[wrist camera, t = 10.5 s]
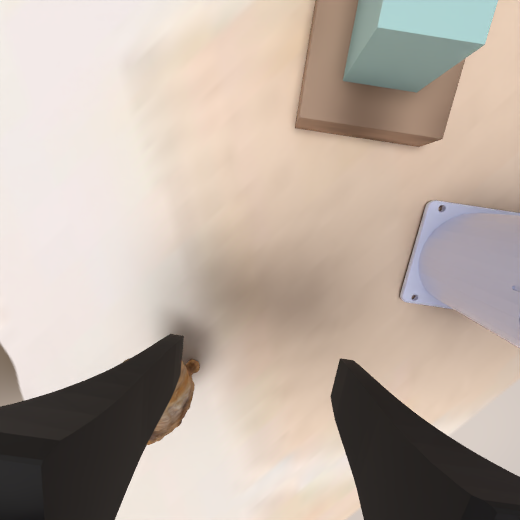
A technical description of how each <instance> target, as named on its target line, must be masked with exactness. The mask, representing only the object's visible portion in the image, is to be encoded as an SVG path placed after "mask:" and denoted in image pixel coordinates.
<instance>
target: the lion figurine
mask: <svg viewBox="0 0 520 520" xmlns="http://www.w3.org/2000/svg"><path fill="white" fill-rule="evenodd" d="M127 360H129V359H127ZM127 360H125V361H127ZM125 361H124V362H125ZM199 368H200V365H199V362H198V361H196V360H194V359H191V360H190V361H188V362H187V364H185V365H184V363H183V361H182V362H181V374H180V377H179V380H178V383H177V385H176V388H175V391H174V393H173V396H172V398H171V400H170V402H169V403H168V405H167V407H166V409H165V411H164V413H163V415H162V417H161V419H160V420H159V422H158V424H157V426H156V428H155V430H154V432H153V434H152V436H151V437H150V439H149V441H148V443H147V445H150V444H152V443H155V442H156V441H160V440H161V439H162V438H163V437H164V436H165V435H167V434H169V433H171V432H172V431H173V430H174V428H175V427H178V426H179V425H180V424H181V422H182V419H183V418H184V416H185V414H186V412H187V410H188V409H189V408H190V403H191V401H192V397H193V391H194V382H193V381H192V374H193V373H196V372H198V371H199Z"/></svg>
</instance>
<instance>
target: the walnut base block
mask: <svg viewBox="0 0 520 520" xmlns="http://www.w3.org/2000/svg"><path fill="white" fill-rule="evenodd" d="M358 1H359V0H316V1H315V7H314V13H313V19H312V26H311V32H310V38H309V44H308V50H307V56H306V63H305V69H304V75H303V81H302V87H301V94H300V100H299V106H298V112H297V118H296V124H295V128H299V129H306V130H313V131H319V132H326V133H332V134H339V135H346V136H352V137H359V138H365V139H372V140H379V141H385V142H392V143H398V144H405V145H412V146H418V147H420V146H423V145H426V144H429V143H432V142H435V141H438V140H441V139H442V138H443V135H444V131H445V128H446V124H447V121H448V117H449V114H450V110H451V107H452V103H453V100H454V96H455V93H456V90H457V86H458V83H459V79H460V76H461V72H462V69H463V65H464V62H465V59H463V60H462V61H461V62H459V63H458V64H456V65H455V66H454V67H452V68H451V69H449V70H448V71H446V72H445V73H444V74H442V75H441V76H439V77H438V78H437V79H435V80H434V81H432V82H431V83H429V84H428V85H427V86H425V87H424V88H422V89H421V90H420V91H418V92H417V93H416V92H410V91H404V90H397V89H391V88H385V87H378V86H372V85H366V84H359V83H353V82H347V81H343V77H344V72H345V67H346V62H347V57H348V52H349V46H350V41H351V36H352V31H353V26H354V21H355V16H356V11H357V6H358Z"/></svg>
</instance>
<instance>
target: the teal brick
mask: <svg viewBox="0 0 520 520" xmlns="http://www.w3.org/2000/svg"><path fill="white" fill-rule="evenodd" d="M497 2H498V0H359V1H358V6H357V11H356V16H355V21H354V26H353V31H352V36H351V41H350V46H349V52H348V57H347V62H346V67H345V72H344V77H343V81H347V82H353V83H359V84H366V85H372V86H378V87H385V88H391V89H397V90H404V91H410V92H416V93H417V92H418V91H420V90H421V89H422V88H424V87H425V86H427V85H428V84H429V83H431V82H432V81H434V80H435V79H437V78H438V77H439V76H441V75H442V74H444V73H445V72H446V71H448V70H449V69H451V68H452V67H454V66H455V65H456V64H458V63H459V62H461V61H462V60H463V59H465V58H466V57H468V56H469V55H471V54H472V53H473V52H475V51H476V50H478V49H479V48H480V47H482V46H483V45H485V42H486V39H487V35H488V32H489V29H490V25H491V22H492V19H493V15H494V12H495V9H496V5H497Z"/></svg>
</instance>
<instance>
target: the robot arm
mask: <svg viewBox="0 0 520 520" xmlns="http://www.w3.org/2000/svg"><path fill="white" fill-rule="evenodd" d="M439 206H442V210H441V211H440V212H439V210H438V208H439ZM413 295H416V296H415V298H413V299H412V296H413ZM400 297H401V299H402V300H403V301H404V302H408V303H415V304H422V305H428V306H435V307H442V308H449V309H454V310H456V311H458V312H459V313H461V314H463V315H464V316H466V317H468V318H469V319H471V320H473V321H474V322H476V323H478V324H480V325H481V326H483V327H485V328H486V329H488V330H490V331H491V332H493V333H495V334H496V335H498V336H500V337H501V338H503V339H505V340H507V341H508V342H510V343H512V344H513V345H515V346H517V347H518V348H520V213H517V212H510V211H503V210H497V209H490V208H483V207H477V206H470V205H463V204H457V203H450V202H443V201H430V202H428V203H427V205H426V207H425V211H424V214H423V217H422V221H421V224H420V228H419V231H418V235H417V238H416V242H415V245H414V249H413V252H412V256H411V259H410V262H409V266H408V269H407V273H406V276H405V280H404V283H403V287H402V290H401V294H400ZM183 338H184V336H180V335H173V334H170V335H168V336H166V337H165V338H163V339H162V340H160V341H158V342H157V343H155V344H154V345H152V346H151V347H149V348H147V349H146V350H144V351H142V352H141V353H139V354H138V355H136V356H134V357H132V358H130V359H129V360H127V361H125V362H123V363H121V364H119V365H118V366H116V367H114V368H112V369H110V370H108V371H106V372H103V373H101V374H99V375H97V376H94V377H92V378H90V379H87V380H85V381H82V382H80V383H77V384H74V385H72V386H69V387H66V388H64V389H61V390H58V391H55V392H52V393H49V394H46V395H43V396H39V397H36V398H32V399H29V400H25V401H22V402H18V403H14V404H11V405H6V406H2V407H0V520H115V517H116V515H117V512H118V510H119V508H120V505H121V503H122V500H123V498H124V495H125V493H126V490H127V488H128V486H129V483H130V481H131V478H132V476H133V474H134V471H135V469H136V467H137V464H138V462H139V460H140V457H141V455H142V453H143V451H144V449H145V447H146V445H147V443H148V441H149V439H150V437H151V436H152V434H153V432H154V430H155V428H156V426H157V424H158V422H159V420H160V419H161V417H162V415H163V413H164V411H165V409H166V407H167V405H168V403H169V402H170V400H171V398H172V396H173V393H174V391H175V388H176V385H177V383H178V380H179V377H180V374H181V362H182V350H183ZM331 401H332V407H333V412H334V417H335V421H336V424H337V427H338V430H339V434H340V437H341V440H342V443H343V446H344V449H345V452H346V455H347V458H348V461H349V464H350V467H351V470H352V474H353V477H354V480H355V484H356V487H357V491H358V496H359V500H360V504H361V509H362V513H363V517H364V520H520V477H519V476H517V475H515V474H513V473H511V472H509V471H507V470H505V469H503V468H502V467H500V466H498V465H496V464H494V463H492V462H490V461H489V460H487V459H485V458H483V457H481V456H480V455H478V454H476V453H475V452H473V451H471V450H469V449H468V448H466V447H464V446H463V445H461V444H460V443H458V442H456V441H455V440H453V439H452V438H450V437H449V436H447V435H446V434H444V433H443V432H441V431H439V430H438V429H437V428H435V427H434V426H432V425H431V424H430V423H428V422H427V421H425V420H424V419H422V418H421V417H420V416H418V415H417V414H416V413H414V412H413V411H412V410H411V409H409V408H408V407H407V406H406V405H404V404H403V403H402V402H401V401H399V400H398V399H397V398H396V397H395V396H393V395H392V394H391V393H390V392H389V391H388V390H386V389H385V388H384V387H383V386H382V385H381V384H380V383H379V382H377V381H376V380H375V379H374V378H373V377H372V376H371V375H370V374H369V373H367V372H366V371H365V370H364V369H363V368H362V367H361V366H360V365H358V364H357V363H356V362H355V361H353V360H347V359H340V361H339V365H338V369H337V373H336V377H335V381H334V385H333V389H332V393H331Z"/></svg>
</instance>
